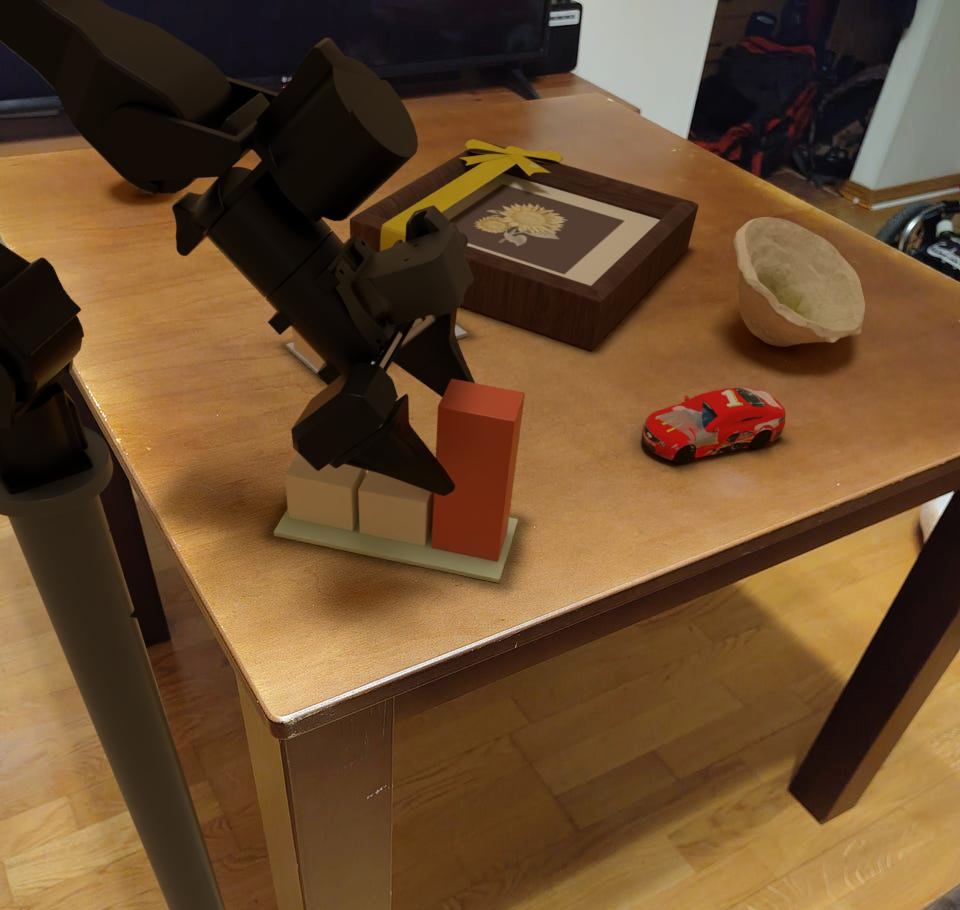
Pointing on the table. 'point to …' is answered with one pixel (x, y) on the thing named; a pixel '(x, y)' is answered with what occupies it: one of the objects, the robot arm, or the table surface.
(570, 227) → the picture frame
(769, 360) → the table surface
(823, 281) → the bowl
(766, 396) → the race car
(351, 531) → the pale green base plate
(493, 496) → the orange upright bar
